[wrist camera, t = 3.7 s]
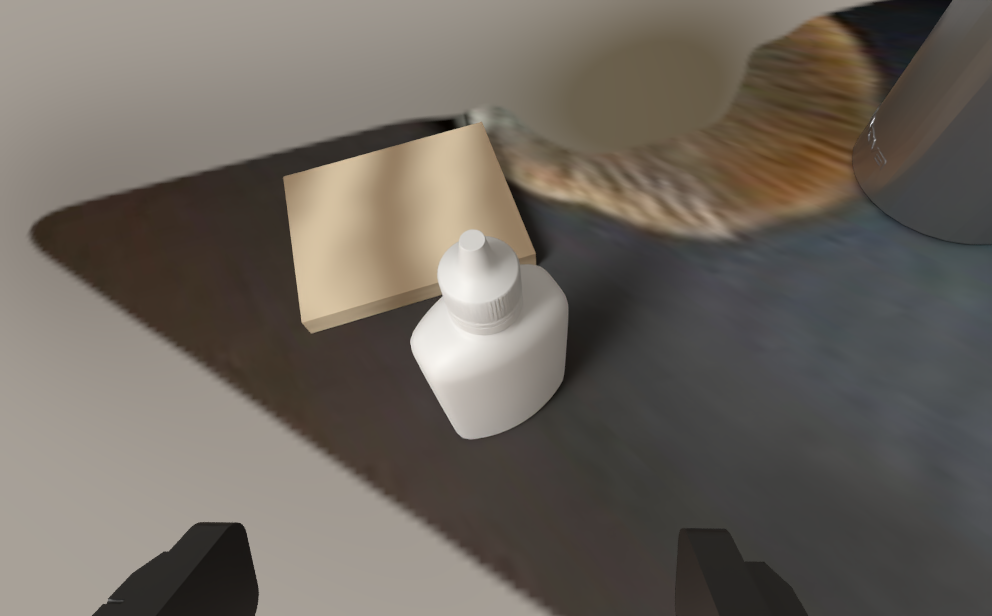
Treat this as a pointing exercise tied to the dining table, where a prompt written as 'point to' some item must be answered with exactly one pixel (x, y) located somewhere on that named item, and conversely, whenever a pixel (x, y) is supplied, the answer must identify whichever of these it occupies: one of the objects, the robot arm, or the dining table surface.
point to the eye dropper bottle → (492, 337)
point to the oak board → (394, 223)
